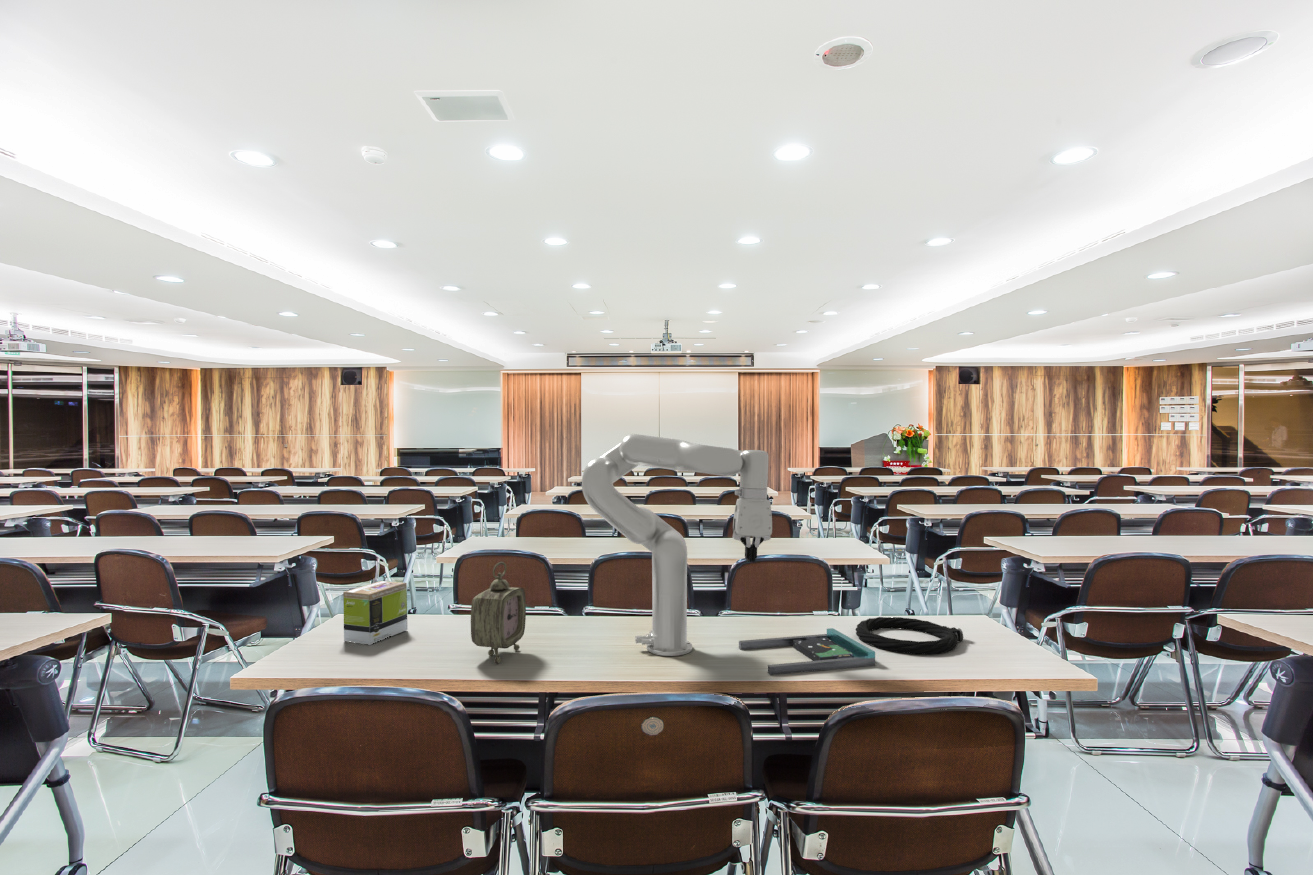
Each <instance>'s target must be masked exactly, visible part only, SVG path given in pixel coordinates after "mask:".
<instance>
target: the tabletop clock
mask: <svg viewBox="0 0 1313 875" xmlns="http://www.w3.org/2000/svg"><path fill="white" fill-rule="evenodd" d="M501 565H503V568H504V571H503V572H502V573H501V572H497V575H496V574H495V572H496V569H497V568H498V567H499V566H501ZM506 573H507V564H506V562H504V561H499V562H497V563H496V564H495V565H494V567H493V569H492V576H493V578H494V580H493V581H492V582H491V584H490V585H489V588H487V589H486V590H484V591H482V592H480V593H478V594H477V595H475V596H474V597H473V599H472V600H471V605H470V606H471V608H470V638H471V642H472V643H473V644H474V645H475V646H477V647H483V648H490V649H489V650H488V652H487V655H488V656H490V657H492V656H494V655H495V658H494V661H493V662H494V664H496V665H498V664H500V663H501V660H502V658H500V657H499V649H509V648H510V647H512V646H513V650H514V651H519V650H520V644H518V642H519V641H520V640H521V639H522V638H523V636H524V634H525V628H526V620H527V619H526V616H527V614H526V613H527V605H526V591H525V589H524V588H523V587H514V586H513V587H510V583H509V582H508V581H507V579H504V578H503V577H504V576H505V574H506Z"/></svg>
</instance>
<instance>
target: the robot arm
mask: <svg viewBox="0 0 1313 875" xmlns="http://www.w3.org/2000/svg"><path fill="white" fill-rule="evenodd" d="M638 466H641V467H642V466H643V467H648V468H649V467H650V468H658V469H664V470H665V469H666V470H671V471H677V472H694V473H701V474H707V475H708V474H709V475H715V476H722V477H733V476H735V475H738V474H739V475H740V477H739V487H738V489H735V490H734V495H735V496H738V498H737V499H736V503H735V505H734V506H735V507H734V513H733V520H732V521H733V522H732V531H733V533H732V539H733V540H735V541H739V542H741V543H742V544H743V546H744V558H745V560H746V562H748V563H756V559H757V558H758V548H759V546H760V545H761V544H762V543H763V542H766V541H770V540H771V539H772V538H771V535H772V534H773V514H772V513H773V512H772V507H771V501H770V500H769V499H768V482H769V477H768V476H769V453H768V452H767V451H765V450H759V449H747V450H746V449H745V450H739V449H733V448H730V447H723V446H722V447H721V446H713V445H708V444H707V445H706V444H700V443H699V444H698V443H693V442H690V441H687V440H682V439H681V440H680V439H676V438H668V437H659V436H652V435H644V434H637V433H632V434H631V433H630V434H628V435H626V436H625V437H624V438H623V439H622V440H621V442H620V443H618V444H617V445H616V446H614V447H613V448H612V449H610V450H608V451H607V452H606V453H604V454H603V455H601V456H600V457H596V458H593V459H592V460H590V461H589V462H588V463H587V464H586V465H585V468H584V470H583V473H582V477H581V490H582V494H583V497H584V499H585V501H586V502H587V505H589V507H590V508H591V509H592V510H593V511H594V512H595V513H596V514H597V515H599V516H600V517H601V518H603V519H604V520H605V521H606V522H607V523H608V524H609V525H610V526H611V527H613V528H614V529H615V530H616V531H618V532H619V533H620V534H621V535H623V537H625V538H626V539H627V540H628V541H629V542H631V543H633V544H636V545H642V546H643V547H645V548H646V550H649V552H650V553H651V566H652V567H651V574H652V575H651V576H652V577H651V579H652V581H651V582H652V589H651V590H652V595H651V596H652V598H651V599H652V601H651V602H652V605H651V607H652V609H651V610H652V611H651V612H652V613H651V614H652V615H651V616H652V619H651V620H652V626H651V627H652V628H651V629H652V630H649V633H647V634H646V635H635V638H634V639H635V640H634V641H635V644H641V645H642V646H643V645H646V649H647V651H648V652H649V653H651V654H653V655H655V656H656V655H657V656H663V657H676V656H677V657H678V656H683V655H686V654H689V653H691V652H692V651H693V643H691V642H690V641H688V640H687V639H688V638H687V636H688V633H687V632H688V628H687V627H688V622H687V621H688V616H687V615H688V611H687V610H688V603H687V602H688V599H687V598H688V586H687V584H688V576H687V575H688V547H687V542H686V540H685V538H684V537H683V535H682V534H681V533H680V532H679V531H677V530H676V529H675V528H674V527H672V526H671V525H670V524H668V523H667V522H666V521H665V520H664V519H662V518H661V517H660V516H659V515H658V514H656V513H655V512H654V511H652V510H651V509H649V508H646V507H641V506H640V507H639V506H637V505H636V504H635V503H634V502H632V501H631V500H630V499H628V498H627V497H626V496H625V495H624V494H622V493H621V492H620V491H618V490H617V489H616V488H615V486H614V483H615V482H617V481H618V480H620V479H621V478H622V477H624V476H625V475H627V474H629V473H630V472H631V471H633V470H634V469H635V468H637V467H638ZM751 537H752V540H751Z"/></svg>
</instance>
